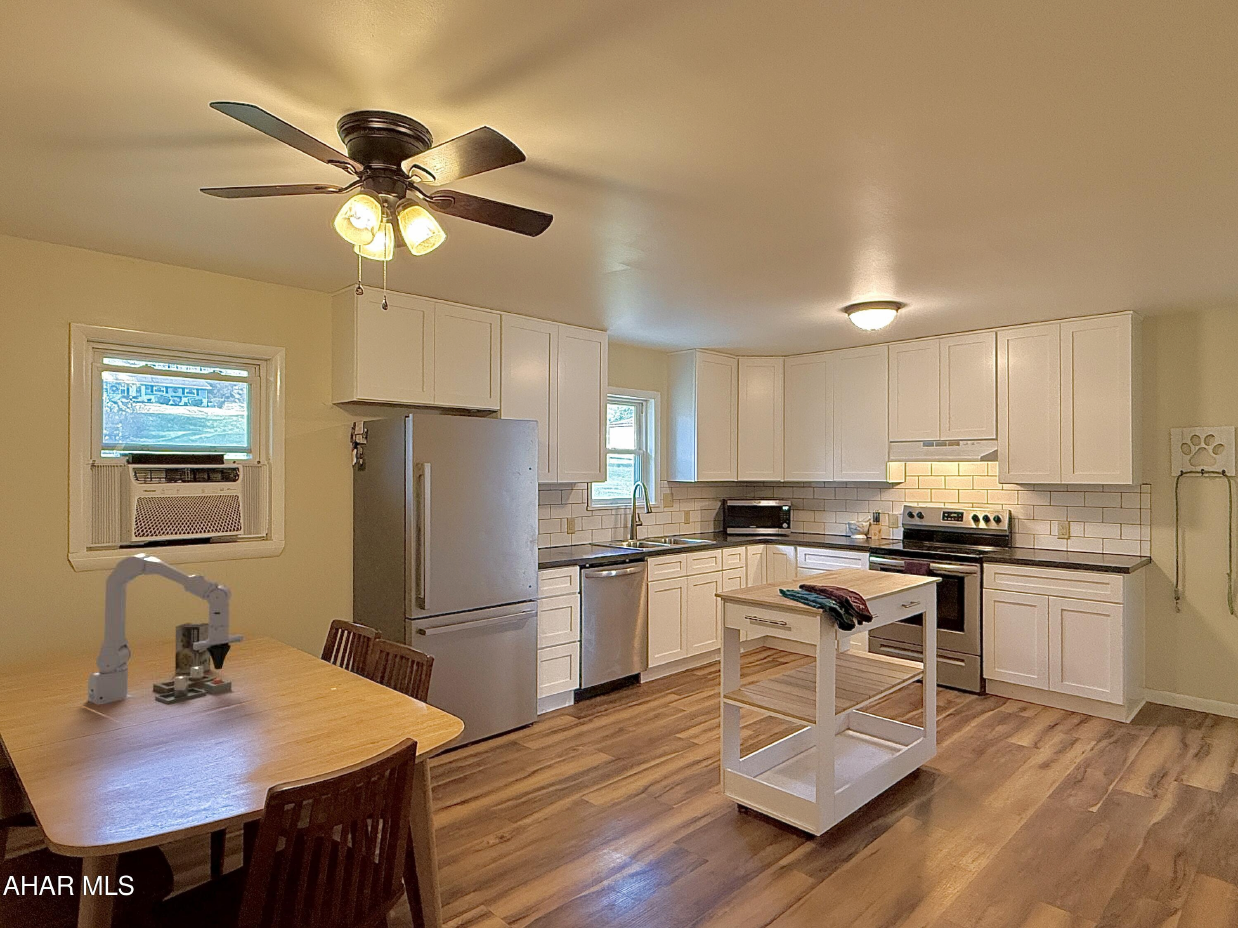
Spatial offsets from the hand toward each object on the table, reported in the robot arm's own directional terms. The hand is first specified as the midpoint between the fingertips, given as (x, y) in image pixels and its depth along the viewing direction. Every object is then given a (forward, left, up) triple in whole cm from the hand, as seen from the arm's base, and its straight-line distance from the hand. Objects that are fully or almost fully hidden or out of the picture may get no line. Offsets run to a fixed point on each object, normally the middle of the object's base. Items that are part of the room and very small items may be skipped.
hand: (218, 668), depth 229 cm
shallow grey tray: (-10, +2, -7) cm, 13 cm away
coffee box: (+8, +32, -8) cm, 34 cm away
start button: (0, 0, -6) cm, 6 cm away
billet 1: (-10, +2, -7) cm, 12 cm away
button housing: (0, 0, -7) cm, 7 cm away
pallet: (-4, +12, -7) cm, 15 cm away
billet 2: (-1, +12, -7) cm, 14 cm away
